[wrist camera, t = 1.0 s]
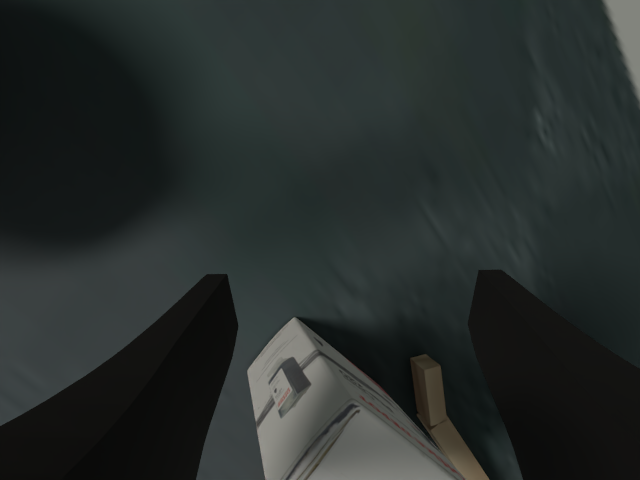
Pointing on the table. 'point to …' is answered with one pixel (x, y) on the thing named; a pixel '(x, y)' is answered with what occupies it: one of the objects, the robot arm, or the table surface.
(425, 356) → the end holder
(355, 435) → the ink box
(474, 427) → the table surface
